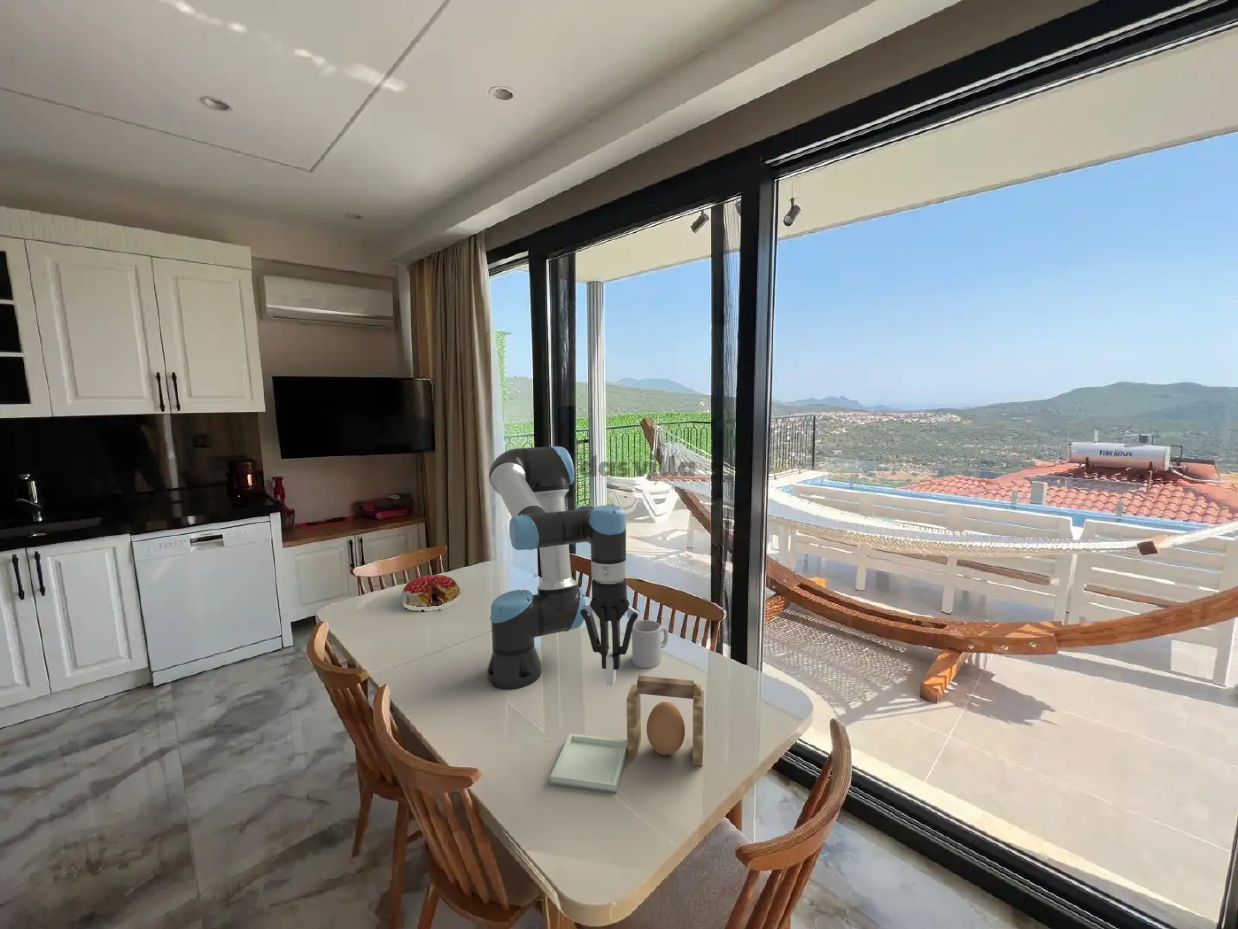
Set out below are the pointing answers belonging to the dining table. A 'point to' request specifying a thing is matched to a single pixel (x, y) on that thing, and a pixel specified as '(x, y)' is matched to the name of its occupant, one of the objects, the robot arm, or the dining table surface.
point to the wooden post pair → (635, 725)
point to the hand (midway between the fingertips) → (611, 682)
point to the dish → (590, 763)
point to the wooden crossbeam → (668, 687)
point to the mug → (647, 643)
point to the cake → (430, 591)
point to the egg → (665, 728)
